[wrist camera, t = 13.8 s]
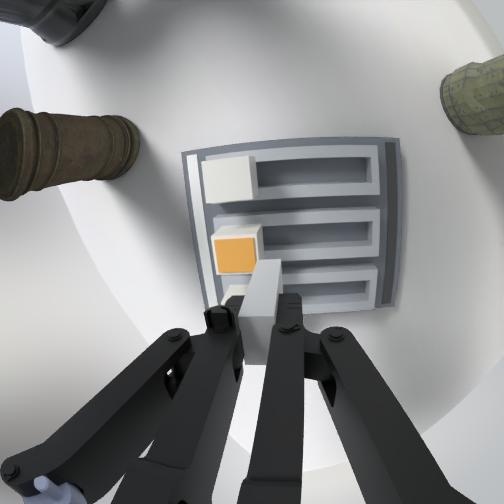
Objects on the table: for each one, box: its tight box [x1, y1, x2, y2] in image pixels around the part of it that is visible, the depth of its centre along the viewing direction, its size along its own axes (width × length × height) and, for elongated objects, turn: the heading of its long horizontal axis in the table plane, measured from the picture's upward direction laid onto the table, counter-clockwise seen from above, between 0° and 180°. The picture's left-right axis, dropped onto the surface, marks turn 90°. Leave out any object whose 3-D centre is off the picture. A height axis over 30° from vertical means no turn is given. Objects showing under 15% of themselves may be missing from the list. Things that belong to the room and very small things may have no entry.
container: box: [0, 108, 139, 201], centre depth 23 cm, size 9×9×18 cm
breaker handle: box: [211, 223, 265, 275], centre depth 27 cm, size 4×4×7 cm
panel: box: [181, 137, 402, 314], centre depth 27 cm, size 20×24×9 cm
